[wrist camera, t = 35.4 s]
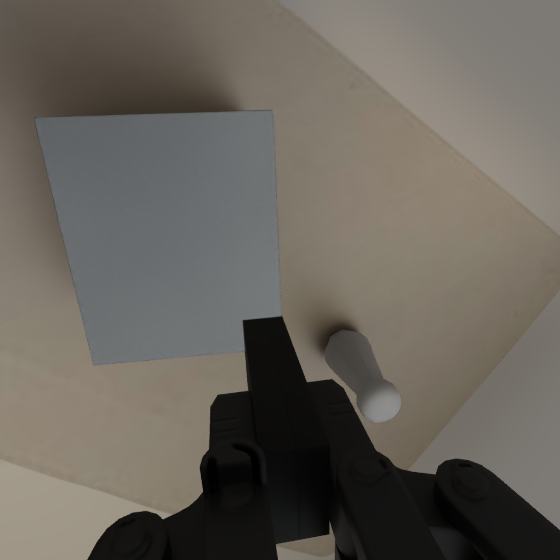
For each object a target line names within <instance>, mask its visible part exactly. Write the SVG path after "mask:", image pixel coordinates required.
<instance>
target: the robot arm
mask: <svg viewBox="0 0 560 560" xmlns="http://www.w3.org/2000/svg"><path fill="white" fill-rule="evenodd" d="M242 321H243V333H244V346H245V358H246V371H247V383H248V391H244V392H236V393H228V394H220V395H217V397H216V399H215V400H214V402H213V404H212V405H211V407H210V438H209V450H208V451H207V452H206V454H205V455H204V456H203V458H202V461H201V464H200V473H201V480H202V487H203V492H202V494H201V495H200V496H199V498H198V499H197V500H196V501H195V502H193V503H192V504H191V505H190V506H189V507H187V508H185V509H183V510H182V511H180V512H178V513H176V514H174V515H172V516H169V517H167V518H165V519H162V518H161V517H160V516H159V515H157V514H155V513H151V512H148V511H142V512H134V513H131V514H129V515H127V516H124V517H122V518H120V519H118V520H117V521H116V522H115V523H113V524H112V525H111V526H110V527H108V528H107V529H106V531H105V532H104V533H103V535H102V536H101V537H100V539H99V540H98V541H97V543H96V545H95V546H94V548H93V550H92V552H91V554H90V556H89V558H88V559H87V560H278V557H277V550H276V544H279V543H284V542H290V541H295V540H300V539H306V538H311V537H317V536H322V535H328V534H329V520H330V523H331V527H332V530H333V533H334V537H335V560H560V530H559V529H558V528H557V527H556V526H554V525H553V524H552V523H551V522H550V521H549V520H547V519H546V518H545V517H544V516H543V515H542V514H540V513H539V512H538V511H537V510H536V509H535V508H533V507H532V506H531V505H530V504H529V503H528V502H526V501H525V500H524V499H523V498H522V497H521V496H519V495H518V494H517V493H516V492H515V491H514V490H512V489H511V488H510V487H509V486H508V485H507V484H505V483H504V482H503V481H502V480H501V479H499V478H498V477H497V476H496V475H495V474H493V473H492V472H491V471H489V470H488V469H486V468H485V467H483V466H482V465H480V464H477V463H474V462H472V461H469V460H463V459H452V460H447V461H444V462H443V463H442V464H441V465H439V466H438V469H437V472H436V475H434V474H427V473H418V472H411V471H407V470H402V469H400V468H397V467H395V466H394V465H393V463H392V462H391V461H390V460H389V458H387V457H386V456H384V455H383V454H381V453H380V452H377V451H376V450H375V448H374V446H373V444H372V442H371V440H370V438H369V436H368V434H367V433H366V431H365V429H364V427H363V425H362V423H361V421H360V419H359V417H358V415H357V413H356V412H355V409H354V407H353V406H352V404H351V402H350V400H349V398H348V396H347V394H346V392H345V390H344V388H342V387H341V386H340V385H339V384H337V383H336V382H335V381H334V380H332V379H330V380H322V381H314V382H307V381H306V379H305V376H304V373H303V371H302V368H301V365H300V363H299V360H298V357H297V355H296V352H295V349H294V347H293V344H292V341H291V339H290V336H289V333H288V331H287V328H286V325H285V323H284V320H283V317H282V316H278V317H268V318H258V319H249V320H242Z"/></svg>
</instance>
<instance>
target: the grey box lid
mask: <svg viewBox="0 0 560 560" xmlns="http://www.w3.org/2000/svg"><path fill="white" fill-rule="evenodd" d="M34 121H35V125H36V129H37V133H38V137H39V141H40V146H41V150H42V154H43V158H44V162H45V166H46V170H47V175H48V179H49V183H50V187H51V191H52V195H53V199H54V204H55V208H56V212H57V216H58V220H59V224H60V229H61V233H62V237H63V241H64V245H65V249H66V253H67V258H68V262H69V266H70V270H71V274H72V278H73V282H74V287H75V291H76V295H77V299H78V303H79V307H80V312H81V316H82V320H83V324H84V328H85V332H86V336H87V341H88V345H89V349H90V353H91V357H92V361H93V365H105V364H116V363H126V362H137V361H148V360H158V359H169V358H180V357H190V356H201V355H212V354H222V353H233V352H244V351H245V346H244V333H243V321H242V320H249V319H258V318H268V317H278V316H281V291H280V267H279V242H278V218H277V193H276V168H275V144H274V119H273V110H253V111H221V112H189V113H157V114H125V115H94V116H62V117H35V118H34Z"/></svg>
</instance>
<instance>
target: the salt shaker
mask: <svg viewBox="0 0 560 560" xmlns="http://www.w3.org/2000/svg"><path fill="white" fill-rule="evenodd" d="M325 359H326V362H327V364H328V365H329V367H330V368H331V369H332V370H333V371H334V372H335V373H336V374H337V375H338V376H339V377H340V378H341V379H342V380H343V381H344V383H345V384H346V385H347V386H348V387H349V388H350V389H351V390H352V391H353V392H354V393H355V394H356V395H357V406H358V409H359V410H360V412H361V413H362V415H363V416H364V417H365V418H366V419H367V420H369V421H371V422H385V421H388V420H390V419H391V418H393V417H394V416H395V415H396V414H397V412H398V410H399V409H400V407H401V397H400V395H399V393H398V391H397V389H396V387H395V386H394V385H393V384H392V383H390V382H389V381H387V380H385V379H384V378H383V376H382V374H381V371H380V369H379V366H378V364H377V361H376V358H375V356H374V353H373V350H372V348H371V345H370V343H369V341H368V339H367V338H366V337H365V336H363V335H362V334H360V333H359V332H357V331H347V330H344V329H342V330H340V331H338V332H337V333H335V334H333V335H331V336H330V339H329V343H328V345H327V347H326V349H325Z"/></svg>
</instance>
